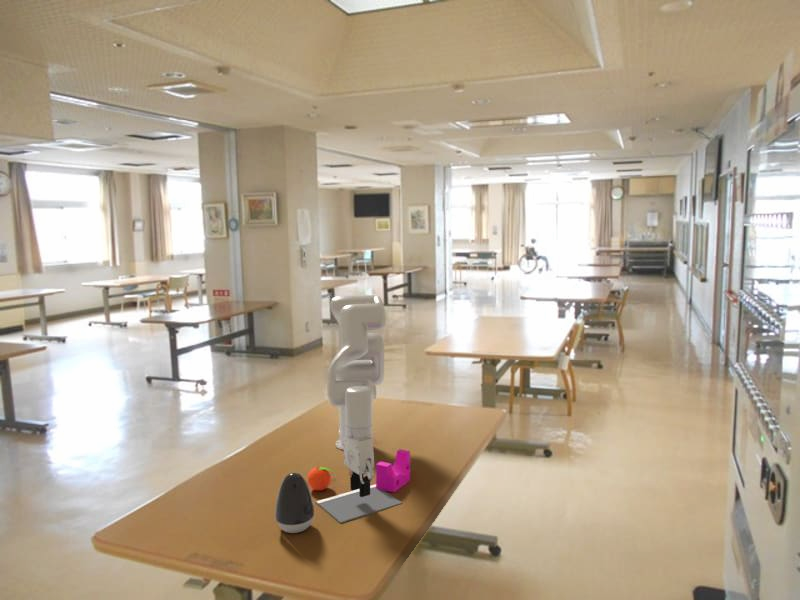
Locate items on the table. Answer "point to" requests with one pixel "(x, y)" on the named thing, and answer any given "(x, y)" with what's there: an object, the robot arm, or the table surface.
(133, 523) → the table surface
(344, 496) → the mat
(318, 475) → the clementine
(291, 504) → the dark grey rounded cone
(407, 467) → the toy block
